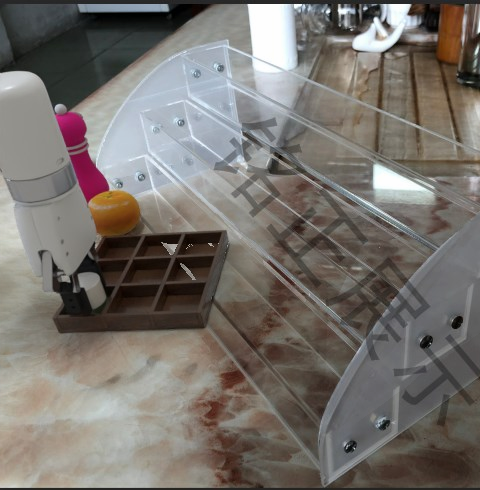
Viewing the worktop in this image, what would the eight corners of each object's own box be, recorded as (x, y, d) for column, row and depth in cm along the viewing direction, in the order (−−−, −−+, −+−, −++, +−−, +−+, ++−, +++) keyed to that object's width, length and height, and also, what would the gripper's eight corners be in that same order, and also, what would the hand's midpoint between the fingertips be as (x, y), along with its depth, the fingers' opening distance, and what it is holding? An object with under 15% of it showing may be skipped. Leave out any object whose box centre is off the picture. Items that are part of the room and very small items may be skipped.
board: (58, 332, 79) (52, 318, 78) (108, 249, 96) (103, 235, 94) (204, 327, 78) (200, 312, 76) (229, 243, 94) (226, 229, 93)
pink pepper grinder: (99, 224, 102) (62, 113, 91) (65, 219, 105) (25, 111, 94) (123, 203, 108) (91, 97, 97) (90, 199, 110) (55, 95, 99)
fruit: (149, 194, 103) (114, 170, 97) (150, 233, 98) (113, 210, 92) (113, 215, 105) (76, 193, 99) (112, 254, 100) (74, 233, 94)
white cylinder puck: (65, 312, 79) (58, 293, 77) (78, 291, 83) (71, 272, 81) (99, 311, 78) (92, 292, 77) (111, 289, 82) (104, 271, 80)
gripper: (42, 151, 78) (84, 264, 88) (-26, 219, 64) (34, 344, 74) (97, 148, 77) (133, 262, 87) (42, 215, 63) (93, 342, 73)
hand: (87, 298), depth 80 cm, fingers closed on white cylinder puck, 4 cm apart
